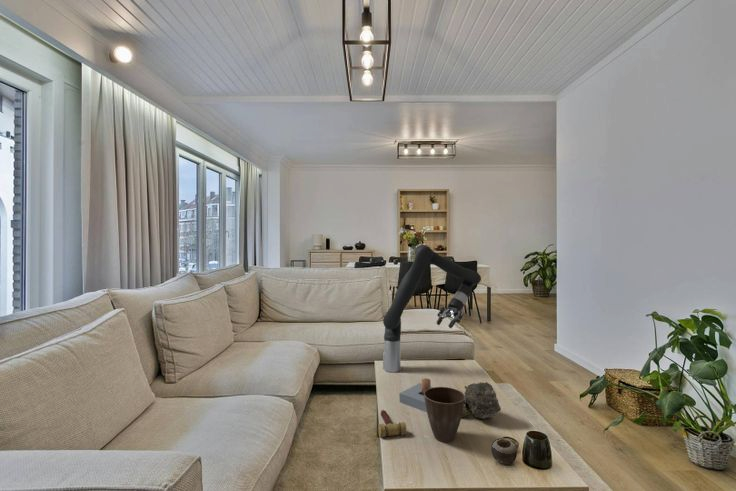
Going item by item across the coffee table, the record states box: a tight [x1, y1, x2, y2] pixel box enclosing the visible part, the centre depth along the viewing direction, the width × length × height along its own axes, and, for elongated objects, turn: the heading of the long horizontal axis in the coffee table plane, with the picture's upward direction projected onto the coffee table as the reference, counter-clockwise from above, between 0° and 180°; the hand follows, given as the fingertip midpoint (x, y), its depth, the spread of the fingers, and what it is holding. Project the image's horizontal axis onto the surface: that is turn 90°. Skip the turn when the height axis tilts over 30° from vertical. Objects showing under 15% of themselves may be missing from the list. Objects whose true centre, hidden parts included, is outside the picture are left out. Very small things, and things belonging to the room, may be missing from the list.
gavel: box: [377, 409, 407, 438], centre depth 147 cm, size 21×5×10 cm
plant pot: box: [424, 386, 465, 443], centre depth 137 cm, size 15×15×16 cm
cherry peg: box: [421, 378, 432, 395], centre depth 166 cm, size 4×4×10 cm
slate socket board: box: [399, 382, 433, 413], centre depth 166 cm, size 18×16×4 cm
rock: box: [461, 381, 502, 420], centre depth 152 cm, size 18×14×15 cm
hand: (443, 325), depth 192 cm, fingers open, 8 cm apart
